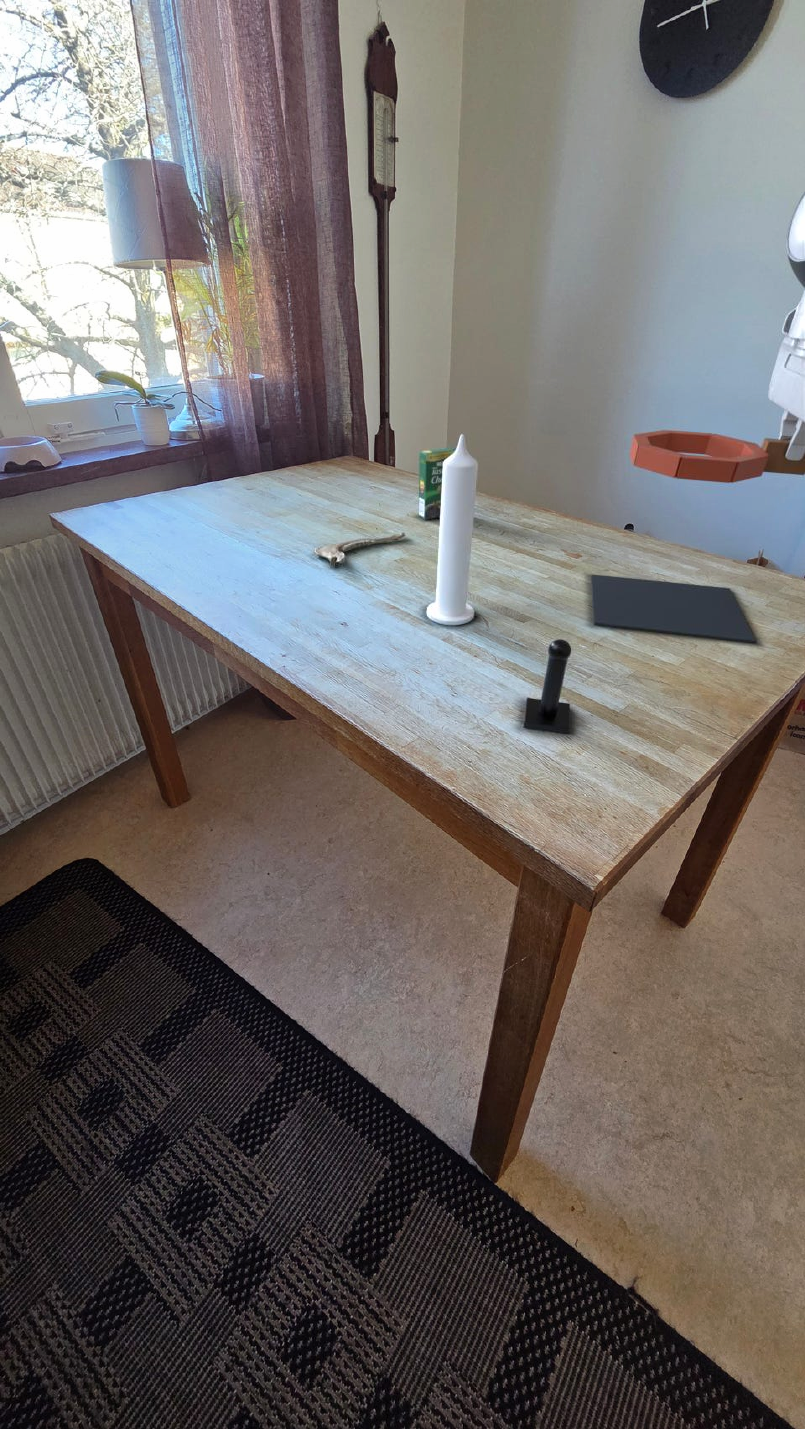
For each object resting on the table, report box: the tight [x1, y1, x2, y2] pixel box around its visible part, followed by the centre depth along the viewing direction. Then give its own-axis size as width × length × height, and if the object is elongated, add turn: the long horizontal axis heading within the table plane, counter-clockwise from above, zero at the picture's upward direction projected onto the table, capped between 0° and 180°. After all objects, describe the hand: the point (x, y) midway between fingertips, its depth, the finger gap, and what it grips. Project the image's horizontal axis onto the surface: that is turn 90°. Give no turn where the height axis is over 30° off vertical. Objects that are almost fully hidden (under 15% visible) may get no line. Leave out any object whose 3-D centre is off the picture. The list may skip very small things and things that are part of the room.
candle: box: [426, 433, 479, 626], centre depth 83 cm, size 7×7×25 cm
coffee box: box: [417, 446, 457, 521], centre depth 123 cm, size 8×3×13 cm, turn 118°
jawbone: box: [313, 532, 406, 568], centre depth 110 cm, size 9×20×2 cm, turn 147°
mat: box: [590, 574, 757, 644], centre depth 93 cm, size 22×18×1 cm
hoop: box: [629, 429, 805, 484], centre depth 76 cm, size 21×15×4 cm
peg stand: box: [523, 638, 572, 735], centre depth 66 cm, size 5×5×10 cm
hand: (787, 455), depth 74 cm, fingers closed on hoop, 2 cm apart
